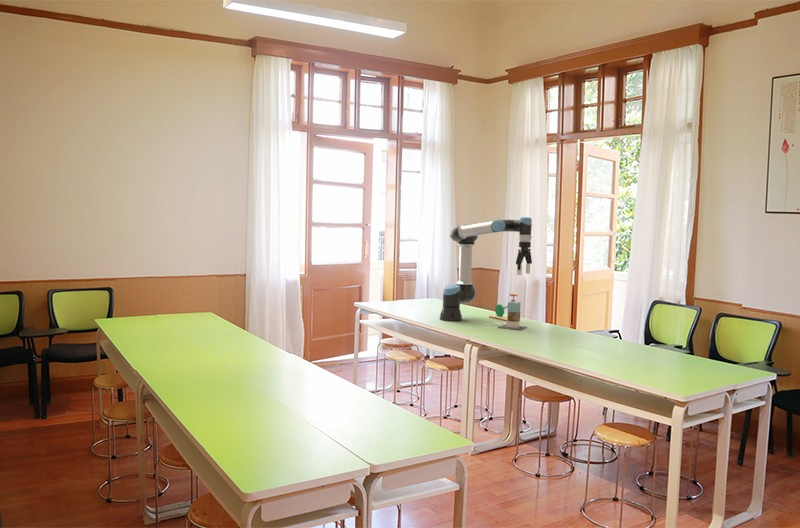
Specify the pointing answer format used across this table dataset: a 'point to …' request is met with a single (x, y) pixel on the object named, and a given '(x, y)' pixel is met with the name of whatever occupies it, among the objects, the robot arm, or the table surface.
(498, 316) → the crank mechanism
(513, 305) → the teal brick
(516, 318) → the walnut brick
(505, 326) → the mat
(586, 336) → the table surface
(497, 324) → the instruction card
